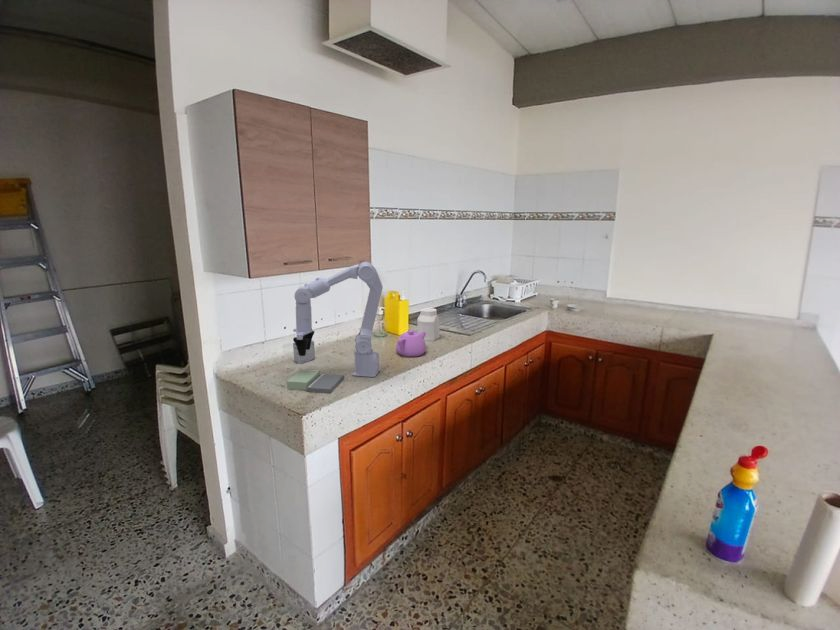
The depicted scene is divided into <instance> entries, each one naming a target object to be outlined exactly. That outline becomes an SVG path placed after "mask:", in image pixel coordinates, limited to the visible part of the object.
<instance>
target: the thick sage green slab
mask: <svg viewBox="0 0 840 630" xmlns="http://www.w3.org/2000/svg"><path fill="white" fill-rule="evenodd" d="M320 375H321V370H316V369H315V370H313V369H300V370H298V372H297V373H295V374H294V375H293V376H291V377H290V378H288V379H287V380H286V389H287V390H297V391H307V387H308V386H309V385H310V384H311V383H312V382H313V381H314V380H315V379H316V378H318V377H319V376H320Z"/></svg>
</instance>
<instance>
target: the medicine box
mask: <svg viewBox="0 0 840 630" xmlns="http://www.w3.org/2000/svg"><path fill="white" fill-rule="evenodd" d="M292 346H293V359H294V363H296V362H297V363H296V364H298V365H302V364H304V363H307V361H308V362H311V361H313V360H314V361H315V359H316V354H315V340H313V339H312V340H311V346H310V349H309V350H306V354H305V356H299V353H298V349H297V346H296V344H295V342H293V344H292Z"/></svg>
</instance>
